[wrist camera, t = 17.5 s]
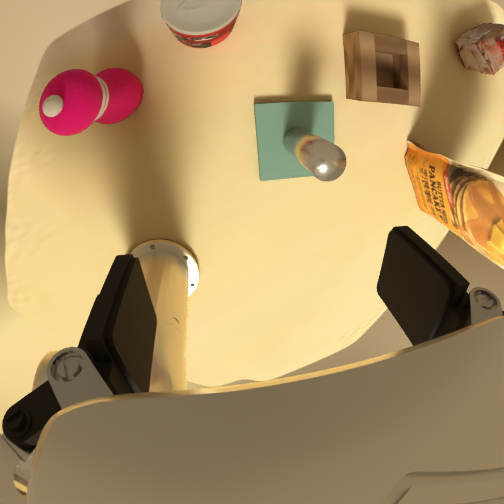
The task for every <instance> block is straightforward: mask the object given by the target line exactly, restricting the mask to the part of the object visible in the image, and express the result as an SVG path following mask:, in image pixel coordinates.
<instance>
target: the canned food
mask: <svg viewBox="0 0 504 504" xmlns="http://www.w3.org/2000/svg"><path fill="white" fill-rule="evenodd" d="M241 4H242V0H161V8H160V9H161V14H162V17H163V19H164V21H165V23H166V24H167V26H168V27H169V28H170V30H171V31H172V32H173V34H174V35H175V36H176V37H177V39H178V40H179V41H180V42H182V43H183V44H185V45H187V46H190V47H194V48H206V47H210V46H213V45H216V44H218V43H220V42H221V41H223V40H224V39H225V38H227V36H228V35H229V34H230V33H231V31H232V29H233V27H234V24H235V22H236V19H237V17H238V14H239V11H240V8H241Z"/></svg>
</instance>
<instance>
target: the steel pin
mask: <svg viewBox="0 0 504 504" xmlns="http://www.w3.org/2000/svg"><path fill="white" fill-rule="evenodd" d="M283 146H284V148H285V149H286V150H287V151H288V152H289V153H290V154H291V155H292V156H293V157H294V158H296V159H297V160H298V161H299V162H300V163H301V164H302V165H303V166H304V167H305V168H306V169H307V170H309V171H310V172H311V173H312V174H313V175H314V176H315V177H316V178H317V179H319V180H321V181H333V180H335V179H337V178H338V177H339V176H341V174H342V173H343V172H344V170H345V167H346V156H345V154H344V152H343V151H342V149H341V148H339V147H338V146H336V145H334V144H333V143H331V142H329V141H327V140H325V139H323V138H321V137H319V136H317V135H315V134H313V133H311V132H309V131H307V130H305V129H303V128H301V127H293V128H290V129H289V130H287V131H286V133H285V134H284V136H283Z"/></svg>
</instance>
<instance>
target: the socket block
mask: <svg viewBox="0 0 504 504" xmlns="http://www.w3.org/2000/svg"><path fill="white" fill-rule="evenodd" d="M343 44H344V57H345V74H346V99H353V100H359V101H368V102H381V103H392V104H402V105H410V106H418V107H420V96H421V88H420V56H419V43H416V42H412V41H408V40H404V39H400V38H396V37H391V36H386V35H381V34H376V33H371V32H365V31H355V32H352V33H348V34H345V35H343Z"/></svg>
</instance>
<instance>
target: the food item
mask: <svg viewBox="0 0 504 504" xmlns="http://www.w3.org/2000/svg"><path fill="white" fill-rule="evenodd" d="M454 42H455V43H456V44H457V47H458V49H459V52H460V56H461V58H462V60H463V63H464V66H465V68H466V69H469V70H474V71H478V72H481V73H485V74H492V75H494V74H495V73H496V72H497V71H499V70H500V69H501V68H502V67H503V66H504V25H502V24H492V23H482V24H481V25H480V26H478V27H476V28H475V29H473V30H466V31H465V32H464V34H462V36H461V37H460V38H458V39H457V41H454Z"/></svg>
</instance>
